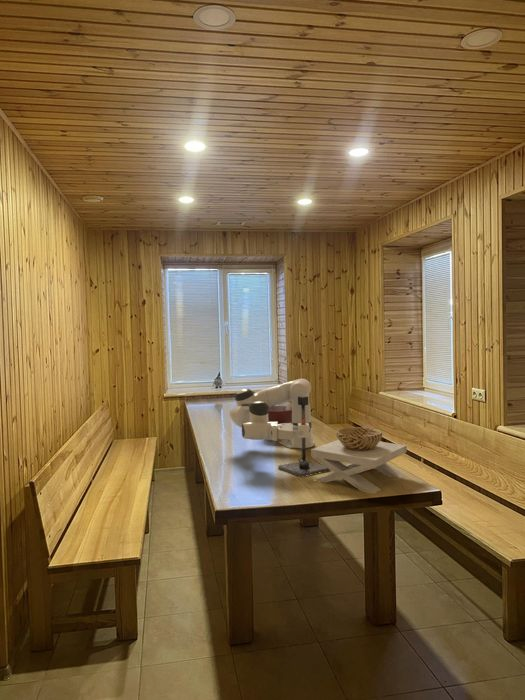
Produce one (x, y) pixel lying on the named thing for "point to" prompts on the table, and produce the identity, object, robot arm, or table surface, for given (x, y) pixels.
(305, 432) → the sleeve
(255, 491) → the table surface
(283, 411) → the bucket
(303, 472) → the rod stand
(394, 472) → the white table with basket
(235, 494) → the table surface
